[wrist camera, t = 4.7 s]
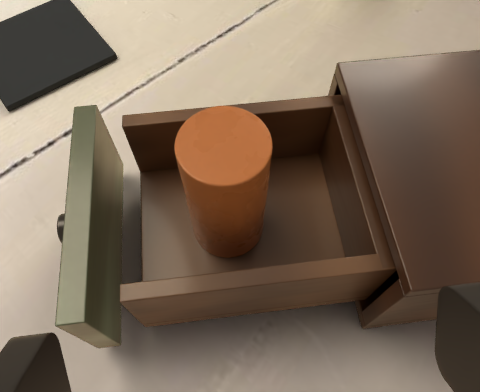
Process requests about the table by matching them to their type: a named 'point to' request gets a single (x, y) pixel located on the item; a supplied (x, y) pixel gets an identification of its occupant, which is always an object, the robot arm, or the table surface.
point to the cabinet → (418, 173)
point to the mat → (47, 51)
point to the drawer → (183, 238)
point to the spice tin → (225, 177)
